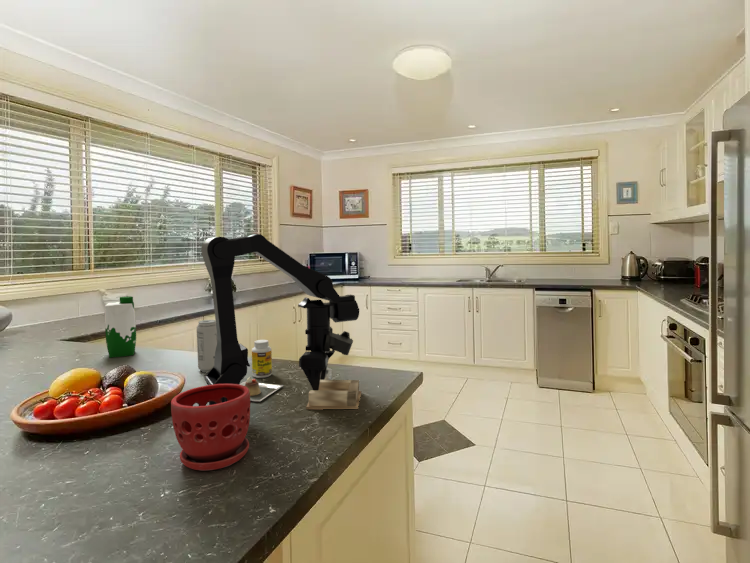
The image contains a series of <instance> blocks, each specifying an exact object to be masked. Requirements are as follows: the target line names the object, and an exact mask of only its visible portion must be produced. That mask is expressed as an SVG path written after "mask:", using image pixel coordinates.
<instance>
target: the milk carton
mask: <svg viewBox="0 0 750 563" xmlns="http://www.w3.org/2000/svg"><path fill="white" fill-rule="evenodd" d="M136 323H137V322H136V312H135V303H134V296H131V295H129V296H127V295H126V296H120V297H119V301H116V302H107V304H105V305H104V327H105V328H104V329H105V344H106V348H107V353H108V357H109V359H110V358H120V357H131V355H132V356H134V355H135V351H136V344H137V326H136V325H137V324H136Z"/></svg>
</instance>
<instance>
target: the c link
mask: <svg viewBox="0 0 750 563" xmlns="http://www.w3.org/2000/svg"><path fill="white" fill-rule="evenodd" d="M359 391H360V380H359V379H332V380H320V385H319V390H313V389H312V390H309V392H308V402H309V406H356V403H357V399H358V394H359Z"/></svg>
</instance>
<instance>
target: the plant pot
mask: <svg viewBox="0 0 750 563" xmlns="http://www.w3.org/2000/svg"><path fill="white" fill-rule="evenodd" d="M223 397H226V398H227V400H228V401H227V402H223V403H222V401H221V398H223ZM250 399H251V396H250V391H249V389H248V388H247V387H246V386H243V385H239V384H214V385H208V384H207V385H202V386H198V387H193V388H189V389H187V390H185V391H183V392H181V393H178V394H177V395H175V396H174V397H173V398H172V399H171V401H170V410H171V411H170V412H171V413H170V414H171V420H172V427H173V431H174V434H175V437H176V438H175V439H176V441H177V442H178V445H179V446H180V448H181V449H182V450H181V452H180V453H179V460H180V462H181V463H182V464H183V465H184V466H185V467H187V468H189V469H192V470H194V471H213V470H214V471H215V470H220V469H223V468H227V467H229V466H231V465H233V464H235V463H237V462H239V461H240V460H241V459H242V458H243V457H244V456H246V454H247V452H248V450H249V448H250V441H249V439H248V438H246V436H247V434H248V431H249V427H250V421H251V401H250ZM210 401H213V402H215V403H216V404H214V405H209V402H210ZM195 404H197V405H198V406H197V405H196V406H194V405H195ZM207 404H208V405H207Z"/></svg>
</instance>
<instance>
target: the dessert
mask: <svg viewBox="0 0 750 563" xmlns="http://www.w3.org/2000/svg"><path fill="white" fill-rule="evenodd" d="M240 385H243V386H246V387H247V388H248V389H249V391H250V397H251V396H253V397H254V396H258V395H260V394H261V393H262V391H261V388H269V389H274V390H273V391H271V392H269V393H268V394H267V395H265V396H264V397H263V398H261V399H251V398H250V402H255V403H260V402H262V401H263V400H265V399H266V398H268V397H269V396H270V395H272V394H273V393H275V392H276V391H278V390H280V389H281V388H283V387H284V384H273V383H266V382H265V383H264V382H258V381H257V380H256V378H254V376H253V375H251V376H249V377H247V379H246V381H243V382H240Z"/></svg>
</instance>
